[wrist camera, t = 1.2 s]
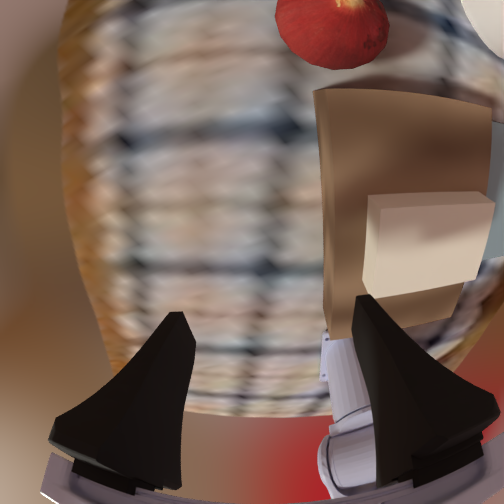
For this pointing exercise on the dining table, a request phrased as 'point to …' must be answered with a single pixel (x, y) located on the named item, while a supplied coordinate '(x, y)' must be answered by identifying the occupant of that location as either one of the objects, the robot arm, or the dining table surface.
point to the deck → (390, 183)
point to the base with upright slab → (487, 22)
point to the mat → (496, 194)
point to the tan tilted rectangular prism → (424, 240)
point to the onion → (333, 30)
